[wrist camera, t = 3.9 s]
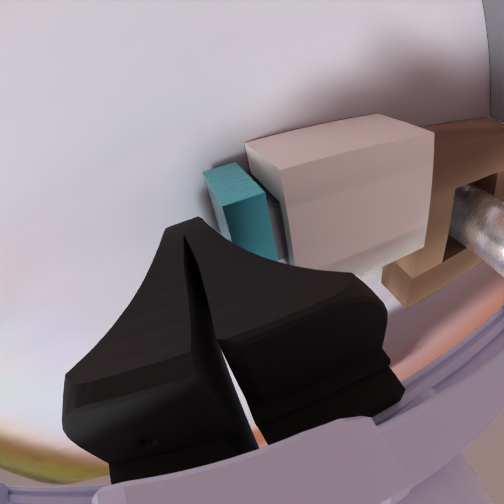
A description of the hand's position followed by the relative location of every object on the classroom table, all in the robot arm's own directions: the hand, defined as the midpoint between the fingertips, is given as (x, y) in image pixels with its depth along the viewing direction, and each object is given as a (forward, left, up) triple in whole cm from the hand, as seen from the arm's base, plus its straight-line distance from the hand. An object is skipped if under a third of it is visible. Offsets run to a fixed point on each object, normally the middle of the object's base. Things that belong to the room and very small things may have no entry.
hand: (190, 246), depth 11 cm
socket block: (-3, -14, -1) cm, 14 cm away
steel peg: (-3, -14, -1) cm, 14 cm away
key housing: (0, -6, -1) cm, 6 cm away
